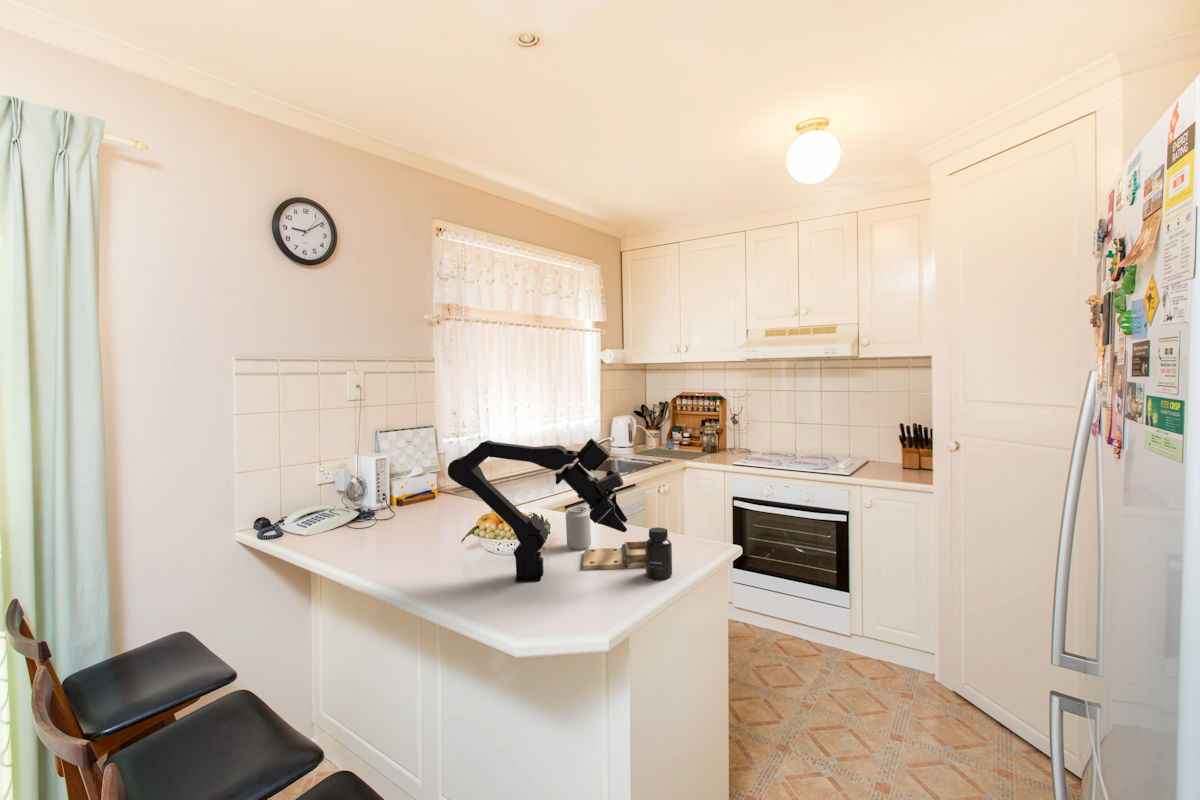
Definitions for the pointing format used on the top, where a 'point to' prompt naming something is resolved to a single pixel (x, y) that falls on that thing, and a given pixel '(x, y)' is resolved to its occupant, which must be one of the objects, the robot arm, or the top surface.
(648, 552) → the supplement bottle
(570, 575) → the top surface
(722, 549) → the top surface
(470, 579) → the top surface
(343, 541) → the top surface
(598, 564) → the hinge jig
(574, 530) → the can
